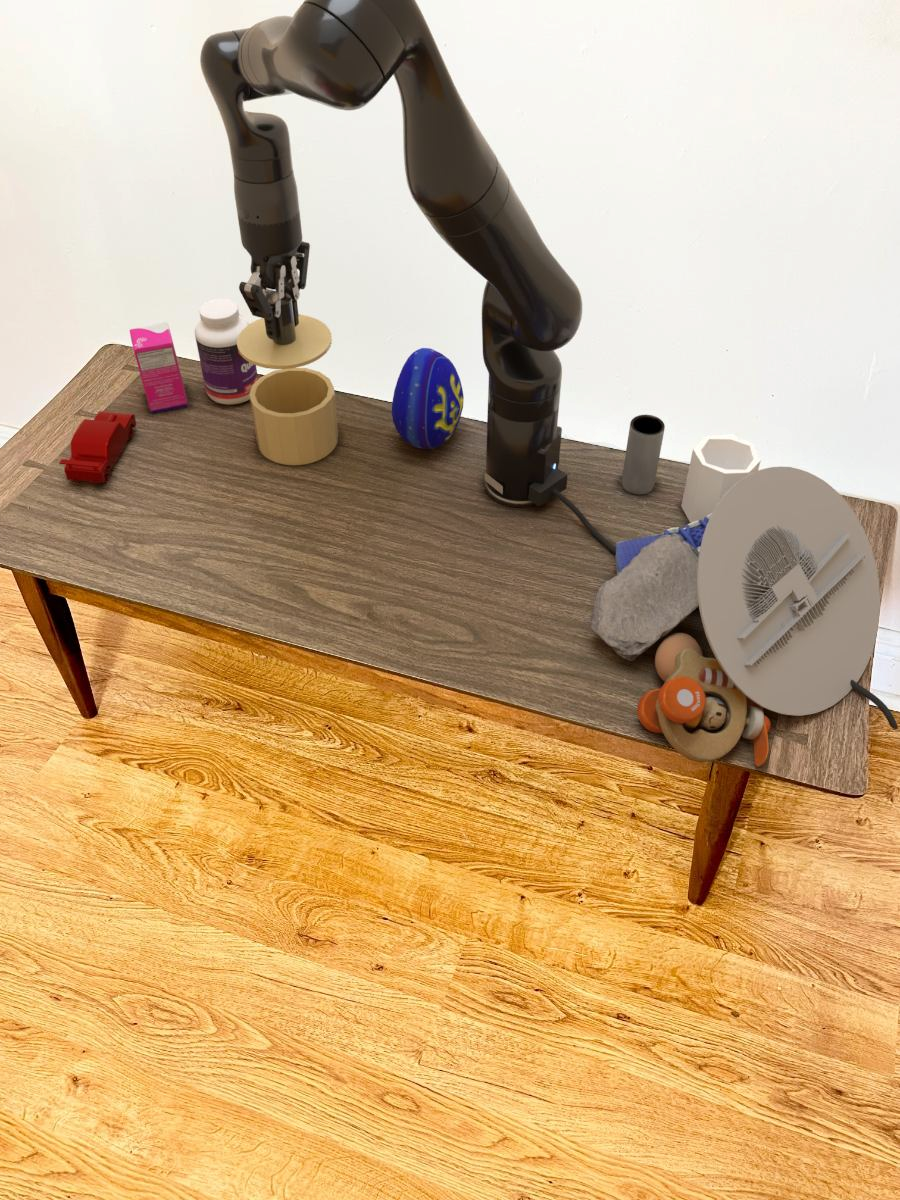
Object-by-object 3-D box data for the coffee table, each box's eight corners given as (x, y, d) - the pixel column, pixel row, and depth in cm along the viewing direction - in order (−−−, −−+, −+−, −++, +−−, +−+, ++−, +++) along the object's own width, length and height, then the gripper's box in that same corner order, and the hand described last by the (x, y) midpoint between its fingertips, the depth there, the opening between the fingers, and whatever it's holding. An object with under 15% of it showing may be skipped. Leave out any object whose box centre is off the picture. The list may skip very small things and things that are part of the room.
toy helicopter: (649, 708, 111) (755, 790, 111) (747, 564, 118) (846, 641, 118) (622, 723, 119) (721, 800, 118) (715, 587, 126) (809, 659, 126)
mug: (742, 537, 141) (758, 479, 134) (677, 525, 143) (689, 467, 136) (750, 480, 149) (765, 423, 142) (688, 469, 151) (700, 412, 144)
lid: (349, 333, 146) (345, 286, 141) (302, 382, 138) (296, 333, 133) (269, 313, 150) (263, 265, 145) (219, 359, 142) (211, 311, 137)
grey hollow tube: (628, 497, 147) (638, 437, 139) (616, 477, 150) (625, 417, 142) (659, 491, 148) (670, 431, 140) (646, 471, 151) (656, 411, 143)
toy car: (105, 490, 148) (96, 461, 144) (66, 486, 148) (57, 458, 145) (139, 429, 158) (132, 401, 154) (102, 425, 158) (95, 398, 154)
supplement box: (145, 393, 164) (128, 327, 156) (184, 386, 165) (169, 320, 157) (149, 414, 160) (132, 348, 152) (189, 407, 161) (175, 341, 153)
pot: (352, 428, 158) (348, 379, 152) (312, 474, 150) (306, 424, 144) (284, 408, 161) (277, 360, 155) (242, 452, 154) (233, 403, 148)
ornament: (435, 470, 151) (434, 381, 140) (380, 450, 154) (375, 361, 143) (473, 429, 158) (475, 340, 147) (419, 410, 161) (417, 322, 150)
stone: (577, 619, 129) (637, 676, 126) (572, 610, 125) (635, 669, 122) (666, 529, 129) (729, 583, 126) (665, 517, 125) (729, 573, 122)
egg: (648, 691, 123) (652, 647, 128) (694, 702, 123) (697, 657, 127) (659, 661, 119) (663, 616, 124) (708, 672, 119) (710, 627, 123)
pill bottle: (255, 408, 161) (242, 324, 151) (202, 407, 161) (185, 323, 151) (263, 377, 167) (251, 294, 156) (211, 376, 167) (196, 293, 156)
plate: (773, 766, 117) (781, 766, 116) (655, 545, 111) (663, 544, 110) (910, 628, 129) (918, 627, 128) (810, 424, 124) (818, 422, 123)
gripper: (263, 239, 125) (280, 365, 137) (323, 189, 133) (334, 312, 146) (209, 226, 127) (230, 351, 139) (271, 178, 136) (286, 300, 148)
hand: (283, 331), depth 142 cm, fingers closed on lid, 3 cm apart
